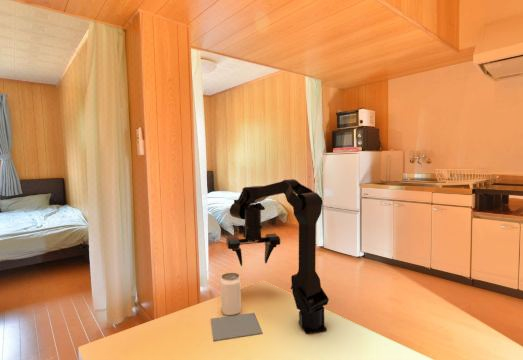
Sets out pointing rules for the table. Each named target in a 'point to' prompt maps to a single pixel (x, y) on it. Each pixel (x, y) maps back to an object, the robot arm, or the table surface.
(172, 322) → the table surface
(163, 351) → the table surface
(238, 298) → the can
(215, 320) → the mat
